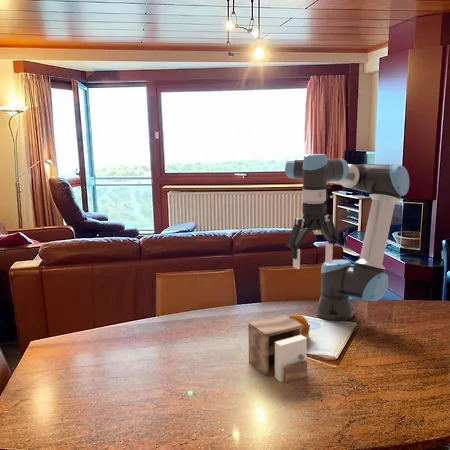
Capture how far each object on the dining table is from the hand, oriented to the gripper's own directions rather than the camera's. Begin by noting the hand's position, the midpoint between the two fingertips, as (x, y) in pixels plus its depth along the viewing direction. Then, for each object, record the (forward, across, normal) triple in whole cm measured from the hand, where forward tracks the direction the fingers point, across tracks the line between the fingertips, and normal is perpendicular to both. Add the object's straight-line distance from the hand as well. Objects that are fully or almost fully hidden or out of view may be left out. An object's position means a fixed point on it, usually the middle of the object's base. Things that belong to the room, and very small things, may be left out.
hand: (312, 264), depth 148 cm
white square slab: (+32, -15, -9) cm, 36 cm away
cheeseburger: (+32, +2, +12) cm, 34 cm away
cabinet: (+32, -15, -3) cm, 35 cm away
